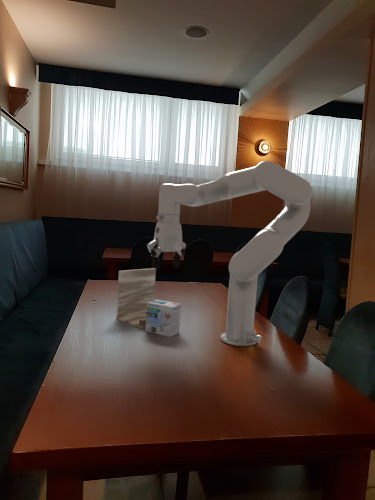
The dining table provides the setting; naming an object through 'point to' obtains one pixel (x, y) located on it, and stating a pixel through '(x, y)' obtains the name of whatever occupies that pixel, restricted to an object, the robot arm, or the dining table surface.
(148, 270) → the board
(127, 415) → the dining table surface
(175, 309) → the light bulb box
